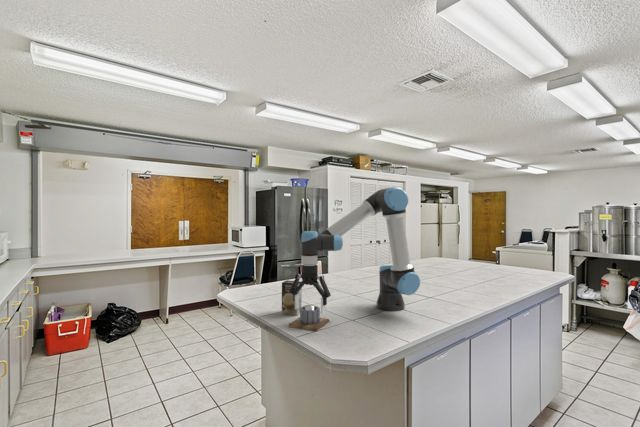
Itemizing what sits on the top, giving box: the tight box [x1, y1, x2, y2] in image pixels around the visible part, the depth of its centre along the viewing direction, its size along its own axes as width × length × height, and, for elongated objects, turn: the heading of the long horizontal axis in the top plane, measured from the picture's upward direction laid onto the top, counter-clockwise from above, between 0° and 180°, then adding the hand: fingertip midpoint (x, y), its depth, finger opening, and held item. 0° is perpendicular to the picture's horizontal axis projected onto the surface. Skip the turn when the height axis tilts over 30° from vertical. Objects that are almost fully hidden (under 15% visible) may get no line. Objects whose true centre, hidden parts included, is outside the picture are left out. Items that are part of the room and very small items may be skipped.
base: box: [288, 316, 330, 332], centre depth 144 cm, size 14×14×1 cm
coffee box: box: [281, 279, 303, 316], centre depth 161 cm, size 9×6×16 cm
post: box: [304, 304, 315, 311], centre depth 144 cm, size 4×4×7 cm
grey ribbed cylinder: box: [299, 305, 321, 325], centre depth 144 cm, size 9×9×6 cm
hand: (309, 310), depth 144 cm, fingers open, 13 cm apart
